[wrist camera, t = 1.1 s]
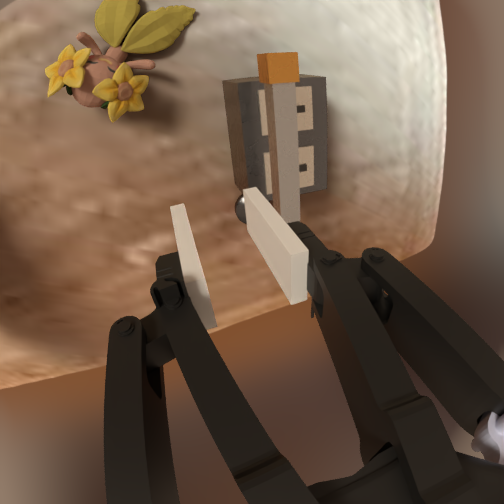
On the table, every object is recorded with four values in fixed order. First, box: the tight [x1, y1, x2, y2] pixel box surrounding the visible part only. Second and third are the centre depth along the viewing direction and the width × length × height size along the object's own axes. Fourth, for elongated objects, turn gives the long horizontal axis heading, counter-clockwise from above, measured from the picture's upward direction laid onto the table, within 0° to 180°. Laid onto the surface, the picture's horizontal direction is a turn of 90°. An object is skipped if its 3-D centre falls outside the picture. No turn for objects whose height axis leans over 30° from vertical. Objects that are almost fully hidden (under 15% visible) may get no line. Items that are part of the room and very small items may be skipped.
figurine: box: [45, 0, 195, 123], centre depth 24 cm, size 12×9×15 cm
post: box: [235, 194, 270, 224], centre depth 39 cm, size 5×5×11 cm
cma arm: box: [257, 52, 300, 223], centre depth 28 cm, size 4×23×2 cm, turn 5°
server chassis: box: [222, 74, 327, 201], centre depth 35 cm, size 10×14×8 cm
